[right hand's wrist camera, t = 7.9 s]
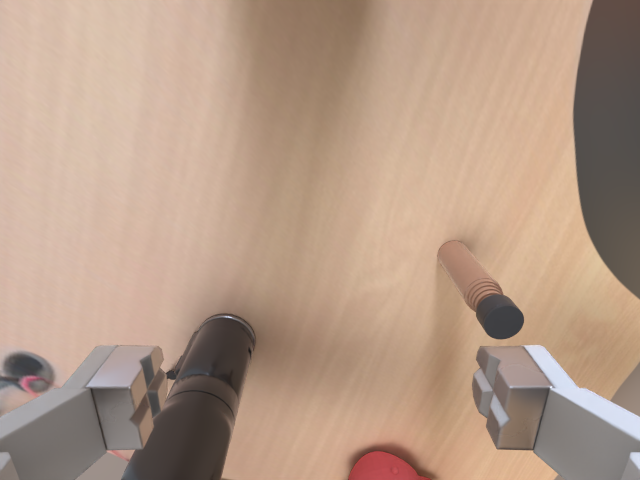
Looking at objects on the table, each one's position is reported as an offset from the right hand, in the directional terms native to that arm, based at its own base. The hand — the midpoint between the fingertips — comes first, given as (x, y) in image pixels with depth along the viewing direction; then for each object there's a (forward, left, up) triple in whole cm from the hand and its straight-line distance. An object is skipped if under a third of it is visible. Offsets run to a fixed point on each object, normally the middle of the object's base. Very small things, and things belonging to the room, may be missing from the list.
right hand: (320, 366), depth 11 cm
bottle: (+18, +20, -48) cm, 55 cm away
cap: (+18, +20, -30) cm, 40 cm away
